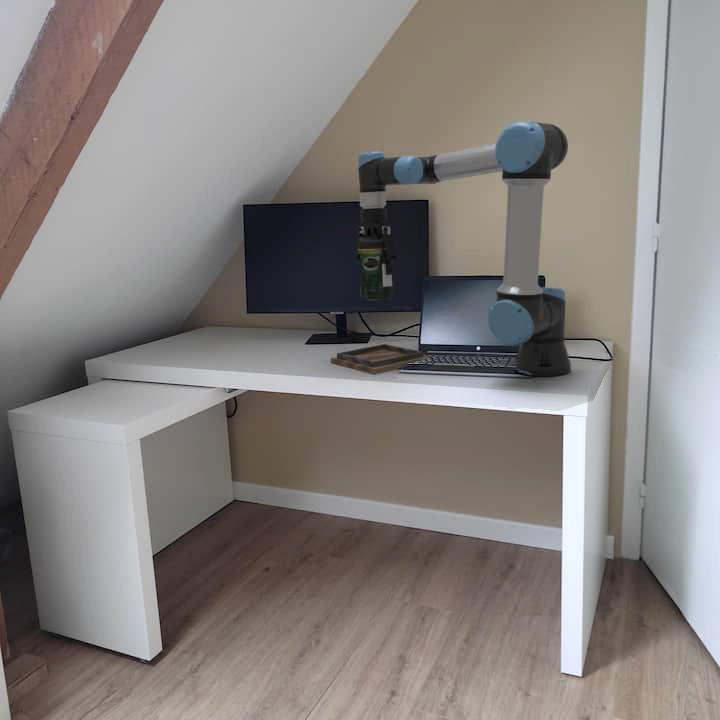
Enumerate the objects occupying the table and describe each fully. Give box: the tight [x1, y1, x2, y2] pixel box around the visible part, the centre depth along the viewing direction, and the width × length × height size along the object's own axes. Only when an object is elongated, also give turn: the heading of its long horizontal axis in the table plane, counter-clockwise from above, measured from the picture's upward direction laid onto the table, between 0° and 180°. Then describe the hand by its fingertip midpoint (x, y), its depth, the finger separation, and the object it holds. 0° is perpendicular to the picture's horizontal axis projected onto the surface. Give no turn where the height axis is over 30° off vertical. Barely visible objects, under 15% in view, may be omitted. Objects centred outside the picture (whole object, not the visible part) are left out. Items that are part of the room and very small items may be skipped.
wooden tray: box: [330, 343, 431, 375], centre depth 221 cm, size 22×21×3 cm
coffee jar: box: [358, 236, 395, 301], centre depth 215 cm, size 10×8×19 cm
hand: (376, 284), depth 216 cm, fingers closed on coffee jar, 9 cm apart
